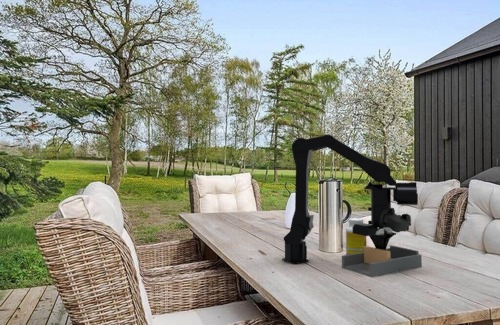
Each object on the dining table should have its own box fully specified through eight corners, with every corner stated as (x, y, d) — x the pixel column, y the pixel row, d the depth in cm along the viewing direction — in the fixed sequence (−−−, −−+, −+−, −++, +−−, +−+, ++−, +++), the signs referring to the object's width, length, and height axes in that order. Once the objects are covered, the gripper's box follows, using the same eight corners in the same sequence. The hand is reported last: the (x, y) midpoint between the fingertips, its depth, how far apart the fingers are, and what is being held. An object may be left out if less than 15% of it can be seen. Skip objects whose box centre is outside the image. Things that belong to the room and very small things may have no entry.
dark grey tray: (372, 277, 108) (372, 260, 108) (341, 267, 118) (341, 252, 118) (421, 266, 118) (421, 251, 119) (389, 258, 129) (389, 244, 129)
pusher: (387, 269, 113) (387, 251, 113) (363, 262, 121) (363, 246, 121) (390, 268, 114) (390, 251, 114) (366, 262, 122) (366, 245, 122)
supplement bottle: (367, 260, 127) (367, 220, 127) (346, 259, 128) (346, 220, 128) (365, 255, 134) (365, 218, 134) (345, 255, 135) (345, 217, 135)
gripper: (380, 208, 107) (381, 265, 107) (424, 204, 116) (424, 257, 116) (350, 205, 117) (351, 257, 117) (393, 201, 126) (393, 250, 126)
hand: (381, 255), depth 119 cm, fingers closed
